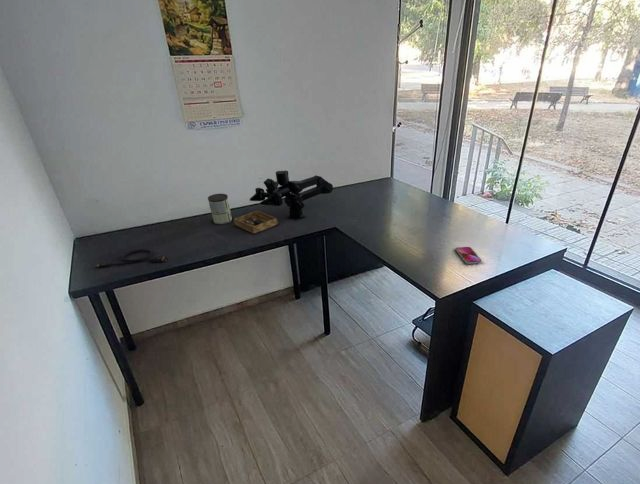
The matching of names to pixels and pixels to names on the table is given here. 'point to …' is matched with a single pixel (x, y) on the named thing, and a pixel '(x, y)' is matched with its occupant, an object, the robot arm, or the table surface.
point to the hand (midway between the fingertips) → (255, 201)
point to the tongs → (256, 222)
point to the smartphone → (468, 255)
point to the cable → (154, 259)
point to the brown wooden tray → (258, 215)
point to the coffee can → (220, 208)
